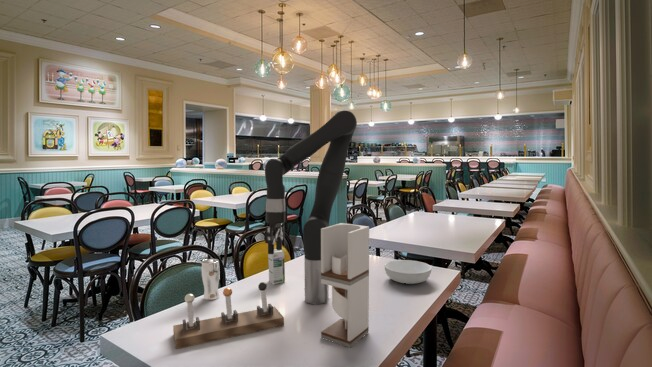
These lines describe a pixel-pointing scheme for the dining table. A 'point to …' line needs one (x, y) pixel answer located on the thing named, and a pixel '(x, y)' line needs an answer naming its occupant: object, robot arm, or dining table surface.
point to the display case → (346, 280)
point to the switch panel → (226, 326)
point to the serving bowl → (408, 271)
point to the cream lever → (190, 311)
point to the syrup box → (276, 267)
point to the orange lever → (228, 304)
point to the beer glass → (210, 278)
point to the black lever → (263, 297)
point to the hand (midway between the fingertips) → (275, 251)
